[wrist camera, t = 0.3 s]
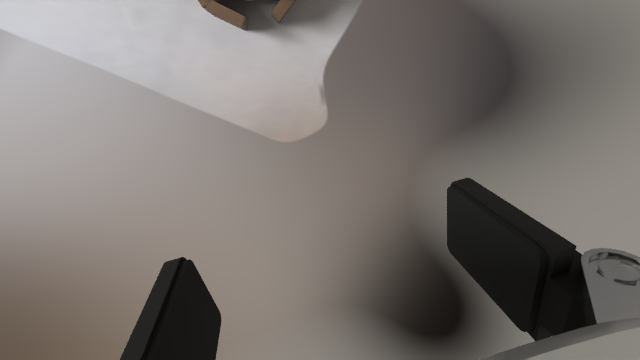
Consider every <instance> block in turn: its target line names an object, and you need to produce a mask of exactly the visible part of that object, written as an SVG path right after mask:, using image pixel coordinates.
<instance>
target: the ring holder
mask: <svg viewBox="0 0 640 360" xmlns="http://www.w3.org/2000/svg"><path fill="white" fill-rule="evenodd" d="M198 1H199V3H200V4H201V6H202V7H203V8H204V9H205V10H207V11H208V12H210V13H211V14H212V15H214V16H215V17H218V18H220V19H222V20H224V21H226V22H228V23H230V24H232V25H234V26H236V27H239V28H241V29H243V30H246V27H247V24H248V21H247V19H246V18H245V16H243V15H241V14H239V13H237V12H235V11H233V10H231V9H229V8H227V7H225V6H223V5H221V4H219V3H217V2H215V0H198ZM295 1H296V0H280V1H279V3H278V4H277V5H276V7H275V8H274V9H273V12H272V17H273V18H274V19H275V20H276V21H277V22H278V23H279V22H280V20H281V19H282V18H283V16H284V15H285V14H286V12H287V11H288V10H289V8H290V7H291V6H292V5H293V3H294V2H295Z"/></svg>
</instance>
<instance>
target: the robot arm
mask: <svg viewBox="0 0 640 360" xmlns="http://www.w3.org/2000/svg"><path fill="white" fill-rule="evenodd" d="M447 246H448V249H449V251H450V253H451V254H452V255H453V256H454V257H455V259H456V260H457V261H458V262H459V263H460V264H461V265H462V266H463V267H464V268H465V270H466V271H467V272H468V273H469V274H470V275H471V276H472V277H473V279H474V280H475V281H476V282H477V283H478V284H479V285H480V286H481V287H482V288H483V289H484V291H485V292H486V293H487V294H488V295H489V296H490V297H491V298H492V300H493V301H494V302H495V303H496V304H497V305H498V306H499V307H500V308H501V309H502V311H503V312H504V313H505V314H506V315H507V316H508V317H509V318H510V319H511V321H512V322H513V323H514V324H515V325H516V326H517V327H518V328H519V329H520V330H521V331H524V332H526V331H527V332H528V333H529V334H530V336H531V337H532V338H533V339H534V340H535V342H532V343H529V344H525V345H522V346H519V347H516V348H513V349H510V350H507V351H504V352H500V353H497V354H495V355H491V356H488V357H485V358H482V359H479V360H640V257H638V256H636V255H633V254H630V253H627V252H624V251H620V250H615V249H607V248H598V249H591V250H589V251H586V252H584V254H583V255H582V254H580V253H579V252H577V251H576V250H575V249H576V245H574V244H572V243H571V242H569V241H568V240H566V239H565V238H563V237H561V236H560V235H558V234H557V233H555V232H553V231H552V230H550V229H549V228H547V227H545V226H544V225H543V224H541V223H540V222H538V221H536V220H535V219H533V218H531V217H530V216H528V215H527V214H525V213H524V212H522V211H521V210H519V209H518V208H516V207H514V206H513V205H511V204H510V203H508V202H507V201H505V200H503V199H502V198H500V197H499V196H497V195H496V194H494V193H493V192H491V191H489V190H488V189H486V188H485V187H483V186H482V185H480V184H478V183H477V182H475V181H474V180H472V179H470V178H465V179H461V180H458V181H454V182H452V184H451V186H450V187H448V189H447ZM220 326H221V314H220V311H219V309H218V308H217V306H216V304H215V302H214V300H213V299H212V296H211V295H210V293H209V291H208V289H207V287H206V285H205V284H204V282H203V280H202V278H201V276H200V274H199V272H198V271H197V269H196V267H195V265H194V263H193V262H192V261H191V260H186V259H185V258H184V257H181V258H178V259H174V260H171V261H167V262H165V263H164V265H163V267H162V269H161V271H160V273H159V276H158V278H157V280H156V282H155V284H154V286H153V288H152V291H151V293H150V295H149V297H148V299H147V301H146V304H145V306H144V308H143V310H142V313H141V315H140V317H139V319H138V321H137V324H136V326H135V328H134V330H133V332H132V334H131V336H130V339H129V341H128V343H127V345H126V348H125V349H124V352H123V354H122V356H121V358H120V360H215V359H216V352H217V346H218V339H219V333H220ZM551 336H552V337H551ZM548 337H549V338H548Z"/></svg>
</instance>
